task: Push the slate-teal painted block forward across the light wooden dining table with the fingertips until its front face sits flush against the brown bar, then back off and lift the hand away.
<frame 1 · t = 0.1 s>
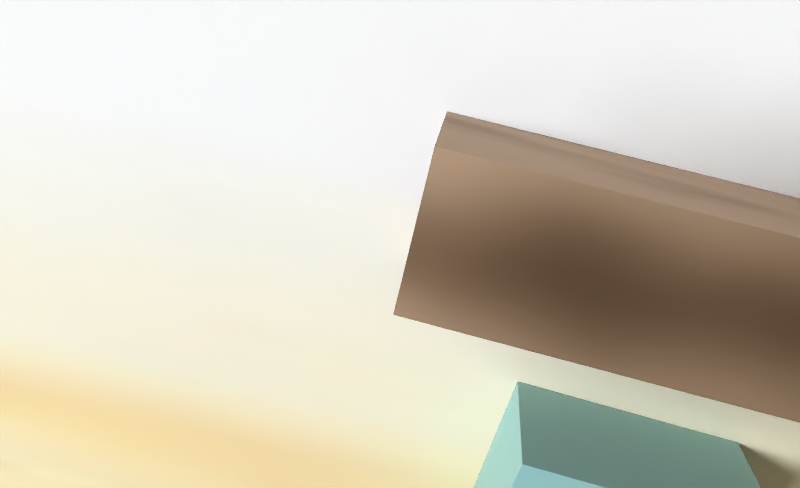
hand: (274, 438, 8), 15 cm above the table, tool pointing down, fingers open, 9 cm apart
teal block: (584, 481, 27), on the table
brown bar: (706, 254, 21), on the table
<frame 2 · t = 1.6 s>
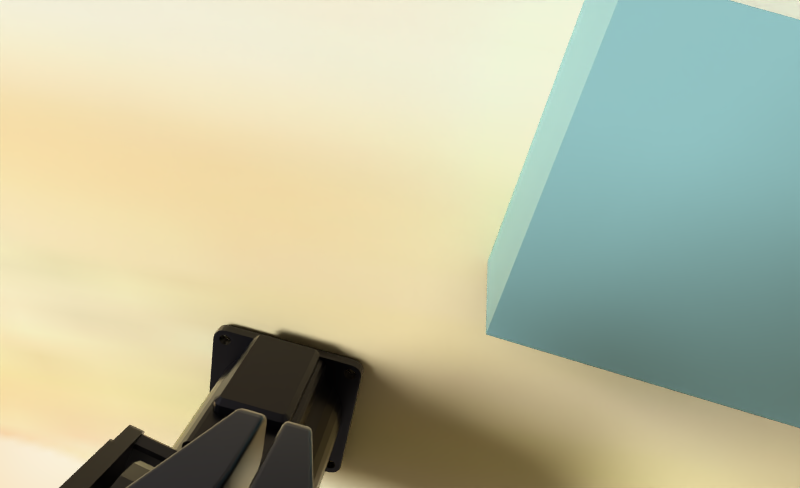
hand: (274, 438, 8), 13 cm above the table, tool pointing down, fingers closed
teal block: (677, 174, 19), on the table
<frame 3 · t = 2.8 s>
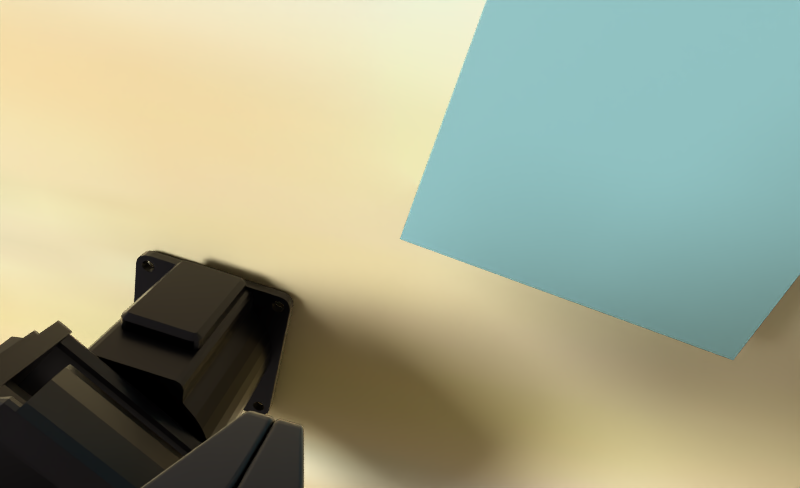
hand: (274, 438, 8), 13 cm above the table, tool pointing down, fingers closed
teal block: (617, 96, 18), on the table
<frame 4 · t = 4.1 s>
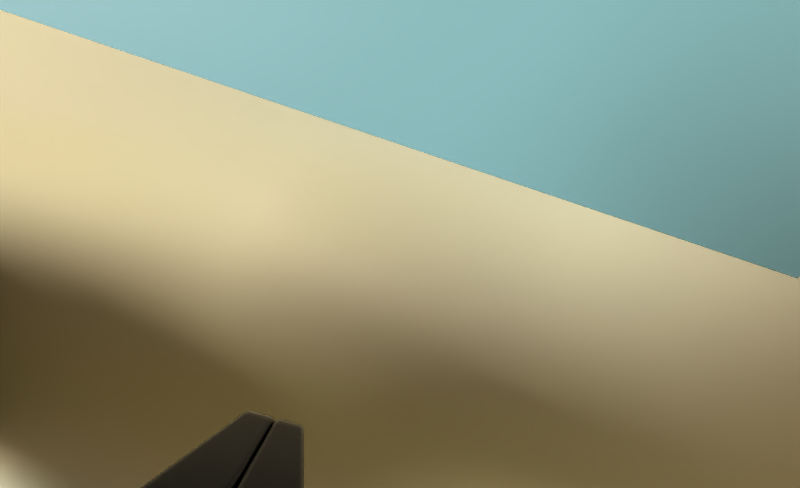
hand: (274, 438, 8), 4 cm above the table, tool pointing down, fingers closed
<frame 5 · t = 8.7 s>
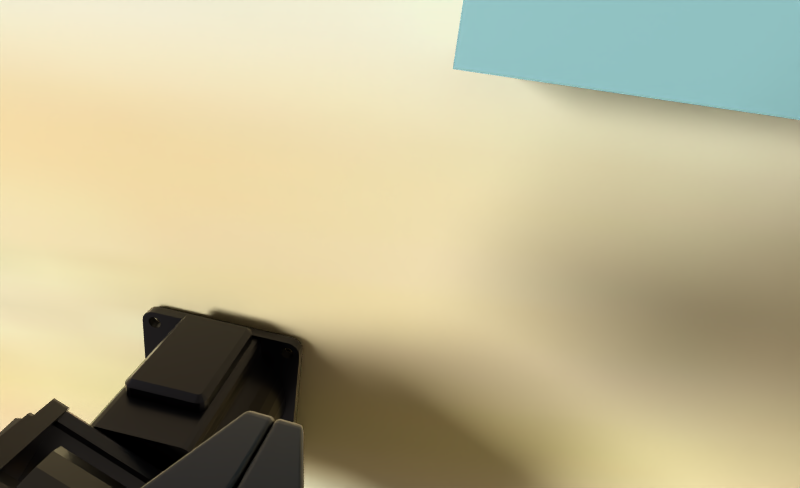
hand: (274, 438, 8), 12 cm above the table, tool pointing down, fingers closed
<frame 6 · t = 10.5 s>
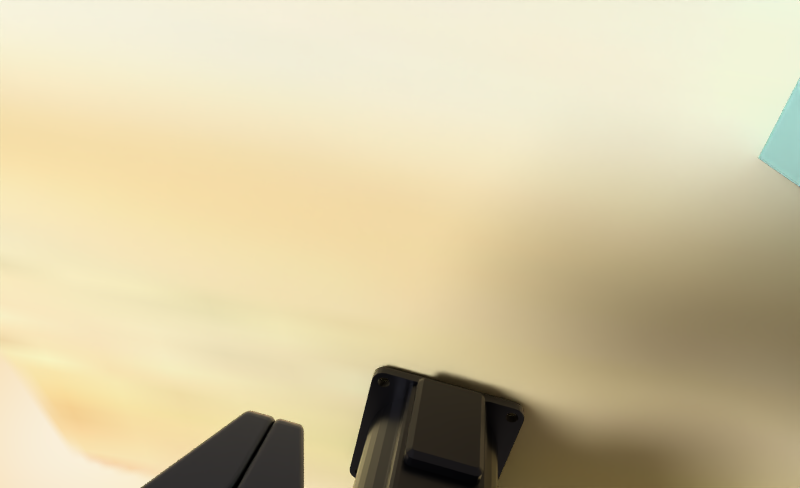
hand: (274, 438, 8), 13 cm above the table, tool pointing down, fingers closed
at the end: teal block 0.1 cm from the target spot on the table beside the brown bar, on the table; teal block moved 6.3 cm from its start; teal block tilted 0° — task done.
